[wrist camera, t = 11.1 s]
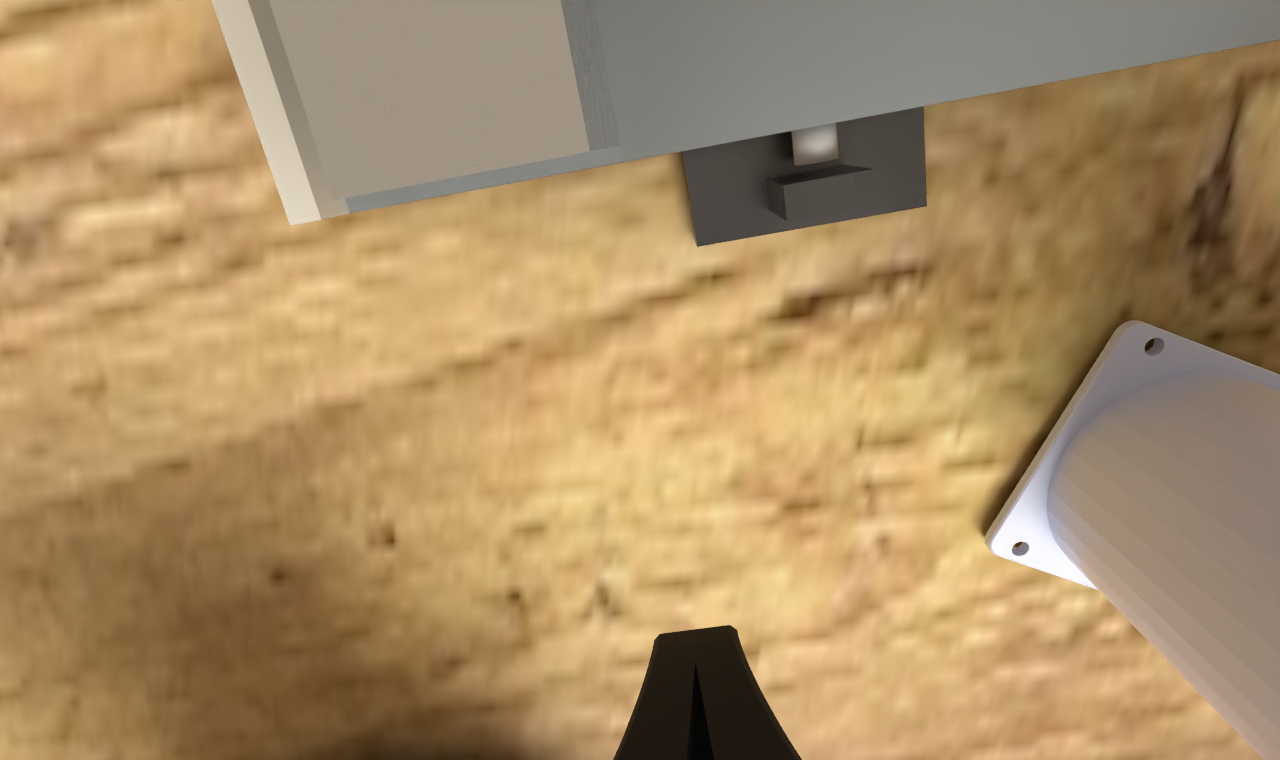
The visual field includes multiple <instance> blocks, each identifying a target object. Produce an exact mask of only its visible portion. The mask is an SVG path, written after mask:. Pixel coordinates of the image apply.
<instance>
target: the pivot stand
mask: <svg viewBox="0 0 1280 760" xmlns="http://www.w3.org/2000/svg"><path fill="white" fill-rule="evenodd" d="M836 129H837V143H838V156H839V158H837V159H834V160H830V161H825V162H820V163H814V164H807V165H795V164H794V153H793V143H792V132H791V131H788V132H783V133H777V134H772V135H767V136H761V137H756V138H751V139H745V140H740V141H734V142H729V143H724V144H718V145H713V146H708V147H702V148H697V149H692V150H686V151H682V154H683V161H684V167H685V174H686V181H687V187H688V194H689V201H690V207H691V214H692V221H693V227H694V234H695V241H696V245H697V247H698V246H704V245H709V244H715V243H721V242H726V241H732V240H738V239H743V238H749V237H755V236H760V235H766V234H772V233H777V232H783V231H789V230H794V229H800V228H806V227H811V226H817V225H823V224H828V223H834V222H840V221H845V220H851V219H857V218H862V217H868V216H874V215H879V214H885V213H891V212H896V211H902V210H908V209H913V208H919V207H925V206H927V202H926V172H925V141H924V110H923V106H922V107H917V108H911V109H906V110H901V111H895V112H890V113H885V114H879V115H874V116H868V117H863V118H858V119H852V120H847V121H842V122H836Z"/></svg>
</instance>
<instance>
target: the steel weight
mask: <svg viewBox="0 0 1280 760" xmlns="http://www.w3.org/2000/svg"><path fill="white" fill-rule="evenodd" d="M269 2H270V5H271V8H272V11H273V14H274V17H275V20H276V24H277V27H278V30H279V33H280V36H281V39H282V42H283V45H284V48H285V51H286V54H287V57H288V60H289V63H290V66H291V70H292V73H293V76H294V79H295V82H296V85H297V88H298V91H299V94H300V97H301V100H302V103H303V106H304V109H305V112H306V116H307V119H308V122H309V125H310V128H311V131H312V134H313V137H314V140H315V143H316V146H317V149H318V152H319V155H320V158H321V162H322V165H323V168H324V171H325V174H326V177H327V180H328V183H329V186H330V189H331V192H332V195H333V198H334V200H339V199H344V198H350V197H355V196H360V195H365V194H370V193H376V192H381V191H386V190H391V189H397V188H402V187H407V186H412V185H418V184H423V183H428V182H433V181H438V180H444V179H449V178H454V177H459V176H465V175H470V174H475V173H480V172H485V171H491V170H496V169H501V168H506V167H511V166H517V165H522V164H527V163H532V162H538V161H543V160H548V159H553V158H558V157H564V156H569V155H574V154H579V153H584V152H590V151H595V150H600V149H605V148H611V147H616V146H620V140H619V135H618V129H617V124H616V118H615V113H614V107H613V101H612V96H611V90H610V85H609V79H608V74H607V68H606V62H605V57H604V51H603V46H602V40H601V35H600V29H599V23H598V18H597V12H596V7H595V1H594V0H269Z"/></svg>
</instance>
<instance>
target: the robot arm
mask: <svg viewBox="0 0 1280 760" xmlns="http://www.w3.org/2000/svg"><path fill="white" fill-rule="evenodd" d="M1153 338H1154V340H1155V341H1154V344H1153V346H1152V347H1151V348H1150V349H1149V350H1147V351H1145V349H1144V348H1145V345H1146V343H1147V342H1148V341H1149V340H1150V339H1153ZM1018 542H1022V544H1021V545H1020V546H1019V547H1017V548H1014V549H1012V547H1013V546H1014V545H1015V544H1016V543H1018ZM985 544H986V545H987V547H988V548H989V549H990V551H991V552H992V553H993V554H995V555H997V556H999V557H1002V558H1005V559H1008V560H1011V561H1014V562H1017V563H1020V564H1023V565H1026V566H1029V567H1032V568H1035V569H1038V570H1041V571H1044V572H1046V573H1049V574H1052V575H1055V576H1058V577H1061V578H1064V579H1067V580H1070V581H1073V582H1076V583H1079V584H1082V585H1085V586H1088V587H1091V588H1094V589H1097V590H1099V591H1100V592H1101V593H1102V594H1103V595H1104V596H1105V597H1106V598H1107V599H1108V600H1109V601H1110V602H1111V603H1112V604H1113V605H1114V606H1115V607H1116V608H1117V609H1118V610H1119V611H1120V612H1121V613H1122V614H1123V615H1124V616H1125V618H1126V619H1127V620H1128V621H1129V622H1130V623H1131V624H1132V625H1133V626H1134V627H1135V628H1136V629H1137V630H1138V631H1139V632H1140V633H1141V634H1142V635H1143V636H1144V637H1145V638H1146V639H1147V640H1148V641H1149V642H1150V643H1151V644H1152V645H1153V646H1154V647H1155V648H1156V649H1157V650H1158V651H1159V652H1160V653H1161V654H1162V655H1163V656H1164V657H1165V659H1166V660H1167V661H1168V662H1169V663H1170V664H1171V665H1172V666H1173V667H1174V668H1175V669H1176V670H1177V671H1178V672H1179V673H1180V674H1181V675H1182V676H1183V677H1184V678H1185V679H1186V680H1187V681H1188V682H1189V683H1190V684H1191V685H1192V686H1193V687H1194V688H1195V689H1196V690H1197V691H1198V692H1199V693H1200V694H1201V695H1202V696H1203V697H1204V698H1205V700H1206V701H1207V702H1208V703H1209V704H1210V705H1211V706H1212V707H1213V708H1214V709H1215V710H1216V711H1217V712H1218V713H1219V714H1220V715H1221V716H1222V717H1223V718H1224V719H1225V720H1226V721H1227V722H1228V723H1229V724H1230V725H1231V726H1232V727H1233V728H1234V729H1235V730H1236V731H1237V732H1238V733H1239V734H1240V735H1241V736H1242V737H1243V738H1244V739H1245V741H1246V742H1247V743H1248V744H1249V745H1250V746H1251V747H1252V748H1253V749H1254V750H1255V751H1256V752H1257V753H1258V754H1259V755H1260V756H1261V757H1262V758H1263V759H1264V760H1280V374H1277V373H1275V372H1272V371H1270V370H1267V369H1264V368H1262V367H1259V366H1257V365H1254V364H1251V363H1249V362H1246V361H1244V360H1241V359H1238V358H1236V357H1233V356H1231V355H1228V354H1225V353H1223V352H1220V351H1218V350H1215V349H1212V348H1210V347H1207V346H1205V345H1202V344H1199V343H1197V342H1194V341H1192V340H1189V339H1186V338H1184V337H1181V336H1179V335H1176V334H1173V333H1171V332H1168V331H1166V330H1163V329H1160V328H1158V327H1155V326H1153V325H1150V324H1147V323H1145V322H1142V321H1138V320H1131V321H1127V322H1125V323H1123V324H1122V325H1120V326H1119V327H1118V328H1117V329H1116V330H1115V332H1114V333H1113V335H1112V336H1111V338H1110V339H1109V341H1108V343H1107V344H1106V346H1105V347H1104V349H1103V351H1102V352H1101V354H1100V355H1099V357H1098V358H1097V360H1096V362H1095V363H1094V365H1093V366H1092V368H1091V369H1090V371H1089V373H1088V374H1087V376H1086V377H1085V379H1084V380H1083V382H1082V384H1081V385H1080V387H1079V388H1078V390H1077V391H1076V393H1075V395H1074V396H1073V398H1072V399H1071V401H1070V402H1069V404H1068V406H1067V407H1066V409H1065V410H1064V412H1063V413H1062V415H1061V417H1060V418H1059V420H1058V421H1057V423H1056V424H1055V426H1054V428H1053V429H1052V431H1051V432H1050V434H1049V435H1048V437H1047V439H1046V440H1045V442H1044V443H1043V445H1042V446H1041V448H1040V450H1039V451H1038V453H1037V454H1036V456H1035V457H1034V459H1033V461H1032V462H1031V464H1030V465H1029V467H1028V468H1027V470H1026V472H1025V473H1024V475H1023V476H1022V478H1021V479H1020V481H1019V483H1018V484H1017V486H1016V487H1015V489H1014V490H1013V492H1012V494H1011V495H1010V497H1009V498H1008V500H1007V501H1006V503H1005V505H1004V506H1003V508H1002V509H1001V511H1000V512H999V514H998V516H997V517H996V519H995V520H994V522H993V523H992V525H991V527H990V528H989V530H988V531H987V533H986V536H985ZM613 760H802V759H801V758H800V756H799V755H798V753H797V752H796V750H795V749H794V747H793V745H792V744H791V742H790V741H789V739H788V737H787V736H786V734H785V732H784V731H783V729H782V727H781V726H780V724H779V722H778V720H777V719H776V717H775V715H774V713H773V712H772V710H771V708H770V706H769V705H768V703H767V701H766V699H765V697H764V695H763V694H762V692H761V690H760V688H759V686H758V684H757V682H756V680H755V677H754V675H753V673H752V671H751V669H750V667H749V664H748V662H747V660H746V657H745V655H744V652H743V650H742V647H741V644H740V640H739V637H738V632H737V630H736V629H735V628H733V627H732V626H730V625H727V626H719V627H711V628H703V629H695V630H688V631H680V632H672V633H664V634H660V635H659V636H658V637H657V638H656V639H655V640H654V645H653V650H652V654H651V658H650V662H649V666H648V669H647V672H646V676H645V679H644V682H643V685H642V688H641V691H640V694H639V697H638V700H637V702H636V705H635V708H634V710H633V713H632V715H631V718H630V721H629V723H628V726H627V728H626V731H625V734H624V736H623V739H622V741H621V743H620V746H619V748H618V750H617V752H616V755H615V757H614V759H613Z"/></svg>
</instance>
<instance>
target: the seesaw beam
mask: <svg viewBox="0 0 1280 760" xmlns="http://www.w3.org/2000/svg"><path fill="white" fill-rule="evenodd" d="M211 1H212V4H213V7H214V10H215V13H216V15H217V18H218V21H219V24H220V27H221V30H222V33H223V35H224V38H225V41H226V44H227V47H228V50H229V52H230V55H231V58H232V61H233V64H234V67H235V70H236V72H237V75H238V78H239V81H240V84H241V87H242V89H243V92H244V95H245V98H246V101H247V104H248V106H249V109H250V112H251V115H252V118H253V121H254V124H255V126H256V129H257V132H258V135H259V138H260V141H261V143H262V146H263V149H264V152H265V155H266V158H267V161H268V163H269V166H270V169H271V172H272V175H273V178H274V180H275V183H276V186H277V189H278V192H279V195H280V197H281V200H282V203H283V206H284V209H285V212H286V215H287V217H288V220H289V223H290V226H291V225H296V224H302V223H307V222H312V221H318V220H323V219H327V218H331V217H336V216H340V215H344V214H349V213H354V212H359V211H365V210H370V209H375V208H381V207H386V206H391V205H397V204H402V203H407V202H413V201H418V200H423V199H429V198H434V197H440V196H445V195H450V194H456V193H461V192H466V191H472V190H477V189H482V188H488V187H493V186H499V185H504V184H509V183H515V182H520V181H525V180H531V179H536V178H541V177H547V176H552V175H558V174H563V173H568V172H574V171H579V170H584V169H590V168H595V167H600V166H606V165H611V164H616V163H622V162H627V161H633V160H638V159H643V158H649V157H654V156H659V155H665V154H670V153H675V152H681V151H686V150H692V149H697V148H702V147H708V146H713V145H718V144H724V143H729V142H734V141H740V140H745V139H751V138H756V137H761V136H767V135H772V134H777V133H783V132H788V131H791V132H792V143H793V153H794V164H795V165H807V164H814V163H820V162H825V161H830V160H834V159H837V158H839V156H838V143H837V129H836V122H842V121H847V120H852V119H858V118H863V117H868V116H874V115H879V114H885V113H890V112H895V111H901V110H906V109H911V108H917V107H922V106H927V105H933V104H938V103H944V102H949V101H954V100H960V99H965V98H970V97H976V96H981V95H986V94H992V93H997V92H1002V91H1008V90H1013V89H1019V88H1024V87H1029V86H1035V85H1040V84H1045V83H1051V82H1056V81H1061V80H1067V79H1072V78H1078V77H1083V76H1088V75H1094V74H1099V73H1104V72H1110V71H1115V70H1120V69H1126V68H1131V67H1137V66H1142V65H1147V64H1153V63H1158V62H1163V61H1169V60H1174V59H1179V58H1185V57H1190V56H1195V55H1201V54H1206V53H1212V52H1217V51H1222V50H1228V49H1233V48H1238V47H1244V46H1249V45H1254V44H1260V43H1265V42H1271V41H1276V40H1280V0H594V1H595V7H596V12H597V18H598V23H599V29H600V35H601V40H602V46H603V51H604V57H605V62H606V68H607V74H608V79H609V85H610V90H611V96H612V101H613V107H614V113H615V118H616V124H617V129H618V135H619V140H620V146H616V147H611V148H605V149H600V150H595V151H590V152H584V153H579V154H574V155H569V156H564V157H558V158H553V159H548V160H543V161H538V162H532V163H527V164H522V165H517V166H511V167H506V168H501V169H496V170H491V171H485V172H480V173H475V174H470V175H465V176H459V177H454V178H449V179H444V180H438V181H433V182H428V183H423V184H418V185H412V186H407V187H402V188H397V189H391V190H386V191H381V192H376V193H370V194H365V195H360V196H355V197H350V198H344V199H339V200H334V198H333V195H332V192H331V189H330V186H329V183H328V180H327V177H326V174H325V171H324V168H323V165H322V162H321V158H320V155H319V152H318V149H317V146H316V143H315V140H314V137H313V134H312V131H311V128H310V125H309V122H308V119H307V116H306V112H305V109H304V106H303V103H302V100H301V97H300V94H299V91H298V88H297V85H296V82H295V79H294V76H293V73H292V70H291V66H290V63H289V60H288V57H287V54H286V51H285V48H284V45H283V42H282V39H281V36H280V33H279V30H278V27H277V24H276V20H275V17H274V14H273V11H272V8H271V5H270V2H269V0H211Z"/></svg>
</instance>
